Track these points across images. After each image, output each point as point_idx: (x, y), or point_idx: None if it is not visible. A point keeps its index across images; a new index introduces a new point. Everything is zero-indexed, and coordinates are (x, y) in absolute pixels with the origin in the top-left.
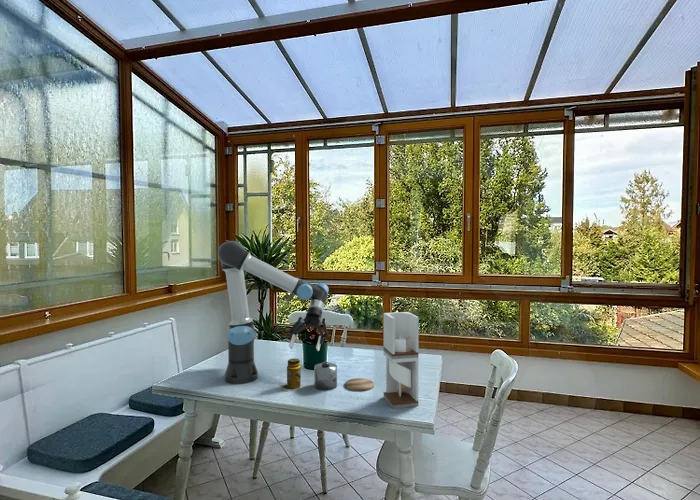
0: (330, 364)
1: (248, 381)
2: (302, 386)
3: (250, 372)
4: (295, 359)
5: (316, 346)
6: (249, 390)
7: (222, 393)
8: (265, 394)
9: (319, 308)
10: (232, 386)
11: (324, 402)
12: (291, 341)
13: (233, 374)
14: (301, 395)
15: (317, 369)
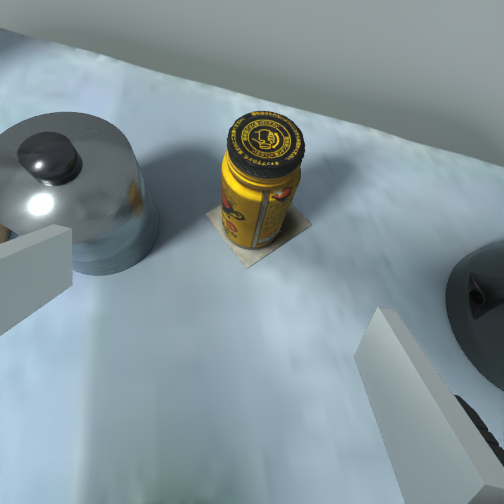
0: (16, 196)
1: (459, 264)
2: (213, 222)
3: (489, 265)
4: (259, 154)
5: (56, 234)
6: (407, 190)
7: (479, 168)
8: (335, 157)
9: None
10: (489, 226)
11: (121, 96)
12: (407, 347)
13: None
14: (206, 146)
15: (116, 128)
